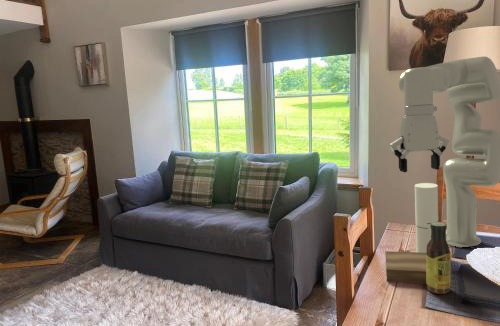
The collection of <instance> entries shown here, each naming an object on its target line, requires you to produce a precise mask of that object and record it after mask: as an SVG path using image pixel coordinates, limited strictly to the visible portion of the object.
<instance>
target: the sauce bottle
mask: <svg viewBox="0 0 500 326" xmlns="http://www.w3.org/2000/svg"><path fill="white" fill-rule="evenodd" d="M430 226H431V227H430V228H431V240H430V241H429V243H428V244H427V253H426V283H427V284H426V289H427V290H428V291H429V292H431V293H433V294H435V293H436V294H437V295H444V294H448V293H449V292H450V289H451V261H452V260H451V259H452V257H451V253H452V252H451V250H450V247H449V245H448V244H447V241H446V234H447V223H444V222H442V221H441V222H440V221H438V222H432V223H431V225H430Z"/></svg>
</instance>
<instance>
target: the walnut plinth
mask: <svg viewBox="0 0 500 326" xmlns="http://www.w3.org/2000/svg"><path fill="white" fill-rule="evenodd" d="M384 253H385V270H386V271H385V272H386V282H388V283H389V282H390V283H391V282H392V283H404V284H407V283H409V284H422V285H427V283H426V253H421V252H416V251H394V250H393V251H390V250H388V251H387V250H386V251H385V252H384Z"/></svg>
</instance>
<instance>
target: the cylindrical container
mask: <svg viewBox="0 0 500 326" xmlns="http://www.w3.org/2000/svg"><path fill="white" fill-rule="evenodd" d="M438 188H439V186H438V184H436V183H431V182H421V183H416V184H414V213H415V215H414V217H415V218H414V219H415V245H416V246H415V247H416V248H415V249H416V251H415V252H421V253H427V244H428V243H429V241H430V240H431V228H430V227H431V226H430V225H431V223H432V222H439V192H438V191H439V189H438Z"/></svg>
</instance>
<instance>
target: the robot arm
mask: <svg viewBox="0 0 500 326" xmlns="http://www.w3.org/2000/svg"><path fill="white" fill-rule="evenodd" d="M398 88H399V90H400V92H401V93H402V94H403V95H404V97H403V98H404V100H403V101H404V105H403V106H404V116H403V117H401V120H400V124H399V130H398V131H399V134H398V138H397V139H396V140H394V141H393V142H391V143H390V144H389V145H388V146H389V148H390V150H391V151H392V154H394V155H395V156H396V158H397V159H398V169H399V171H400V172H402V173H407V172H408V159H407V158H406V157H407V156H408V154H409V153H411V152H415V153H416V152H424V151H426V152H427V151H430V152H431V153H432V154H431V155H430V166H431V167H430V168H431V169H432V170H440V166H441V156H442V155H443V152H445V150H446V149H447V146H448V143H449V141H450V140H449V139H448V138H445V137H443V136H440V135H439V126H438V122H437V118H436V115H434V113H435V112H437V110H438V107H437V106H434V94H438V93H442V92H445V91H446V94H447V95H446V96H447V99H448V101H449V104H450V107H451V109H452V111H453V114H454V126H453V132H452V140H451V150H452V152H453V153H454V154H455V155H459V156H469V158H468V157H454V158H449V159H447V160H446V161H445V162H444V163H443V166H442V172H443V173H442V174H443V178H444V183H445V189H446V191H445V193H446V227H447V229H446V241H447V244H448V246H451V247H455V246H456V247H457V248H462V247H469V246H474V245H478V244H480V243H481V244H482V239H481V238H480V237H478V236H477V197H476V196H477V195H476V193H475V191H474V190H473V188H472V187H471V186H474V187H475V186H476V187H495V186H496V185H497V184H498V183H499V181H500V131H499V130H497V129H494V128H492V129H491V128H481V127H482V119H483V118H482V115H481V113H480V112H479V111H478V110H477V108H476V107H474V106H473V105H472V104H480V103H483V104H484V103H493V102H497V101H499V99H500V75H499V72H498V70H497V67H496V65H495V62H493V60H492V59H491V58H490V57H488V56H475V57H469V58H464V59H463V58H462V59H456V60H451V61H446V62H445V61H444V62H442V63H441V62H440V63H436V64H432V65H429V66H421V67H413V68H408V69H407V70H405V71H403V72H402V74H401V75H400V77H399V79H398ZM439 142H440V145H439ZM397 146H398V147H397ZM470 156H474V157H477V156H478V157H485V158H471V157H470ZM481 244H480V245H481Z"/></svg>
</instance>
